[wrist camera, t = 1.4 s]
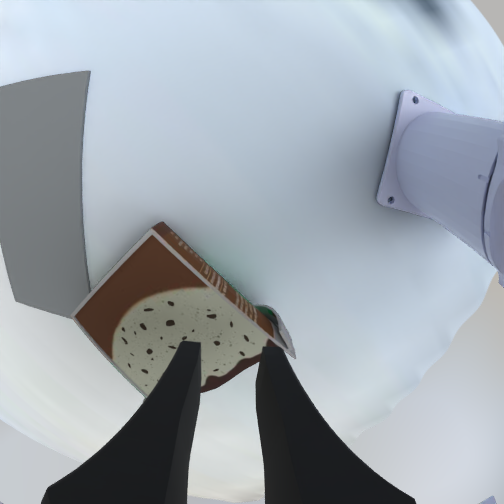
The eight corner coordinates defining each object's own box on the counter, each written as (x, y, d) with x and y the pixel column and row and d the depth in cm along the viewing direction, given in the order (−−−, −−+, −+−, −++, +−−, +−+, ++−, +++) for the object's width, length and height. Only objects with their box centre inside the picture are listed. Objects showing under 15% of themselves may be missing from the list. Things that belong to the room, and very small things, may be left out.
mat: (90, 71, 13) (88, 70, 13) (96, 322, 22) (95, 324, 22) (-4, 88, 12) (-6, 88, 12) (17, 299, 21) (15, 301, 21)
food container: (104, 285, 22) (184, 366, 24) (62, 324, 16) (163, 417, 18) (206, 187, 18) (299, 297, 20) (172, 207, 12) (304, 354, 15)
